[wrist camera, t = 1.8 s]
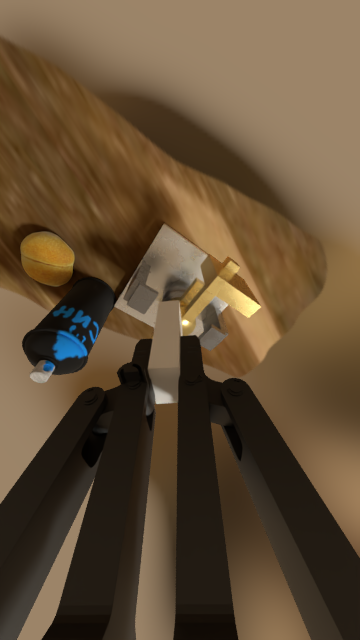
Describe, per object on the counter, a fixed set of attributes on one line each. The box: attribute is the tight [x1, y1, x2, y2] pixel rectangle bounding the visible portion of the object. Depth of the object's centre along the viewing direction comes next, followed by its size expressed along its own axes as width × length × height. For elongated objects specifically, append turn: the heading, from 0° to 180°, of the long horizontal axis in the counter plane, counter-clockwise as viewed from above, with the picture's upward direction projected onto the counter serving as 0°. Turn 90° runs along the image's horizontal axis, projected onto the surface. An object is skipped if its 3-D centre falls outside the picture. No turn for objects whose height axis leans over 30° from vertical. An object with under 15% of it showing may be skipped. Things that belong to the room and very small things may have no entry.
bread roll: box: [20, 231, 74, 287], centre depth 35 cm, size 8×9×4 cm
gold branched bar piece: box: [151, 254, 261, 339], centre depth 30 cm, size 6×18×11 cm, turn 145°
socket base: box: [114, 222, 247, 351], centre depth 37 cm, size 18×18×10 cm
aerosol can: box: [22, 277, 116, 383], centre depth 33 cm, size 8×8×20 cm
